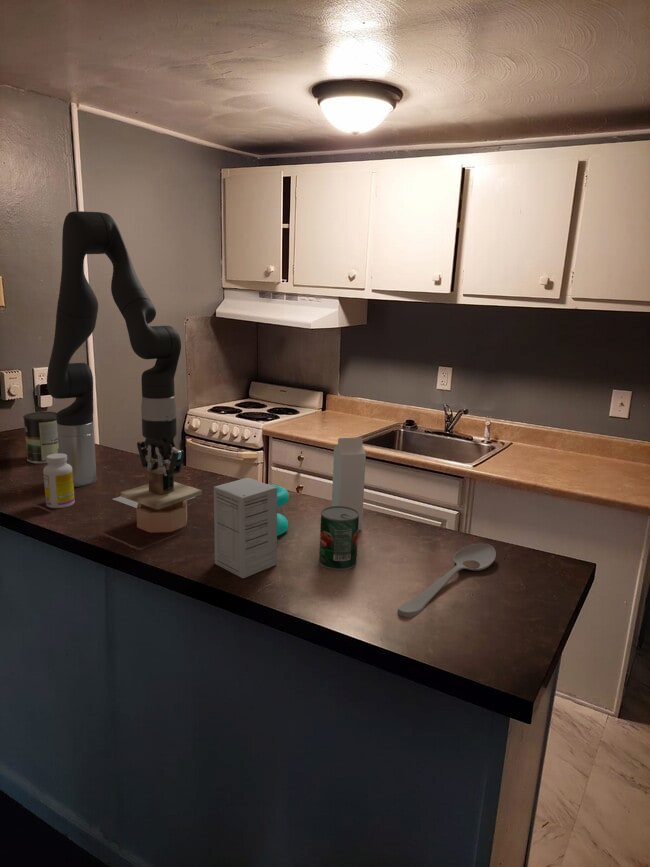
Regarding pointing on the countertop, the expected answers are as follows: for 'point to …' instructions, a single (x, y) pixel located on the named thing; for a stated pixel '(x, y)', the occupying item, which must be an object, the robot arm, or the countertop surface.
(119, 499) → the mat
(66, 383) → the robot arm
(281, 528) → the donuts
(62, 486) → the supplement bottle
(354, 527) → the canned tomato
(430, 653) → the countertop surface
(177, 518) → the bowl
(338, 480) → the milk
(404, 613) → the spoon
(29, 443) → the coffee can
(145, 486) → the lid
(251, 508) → the supplement box
